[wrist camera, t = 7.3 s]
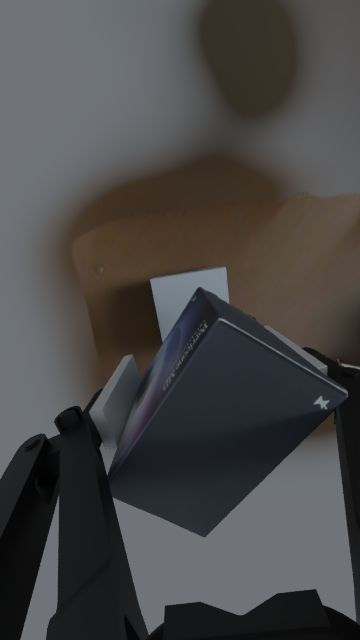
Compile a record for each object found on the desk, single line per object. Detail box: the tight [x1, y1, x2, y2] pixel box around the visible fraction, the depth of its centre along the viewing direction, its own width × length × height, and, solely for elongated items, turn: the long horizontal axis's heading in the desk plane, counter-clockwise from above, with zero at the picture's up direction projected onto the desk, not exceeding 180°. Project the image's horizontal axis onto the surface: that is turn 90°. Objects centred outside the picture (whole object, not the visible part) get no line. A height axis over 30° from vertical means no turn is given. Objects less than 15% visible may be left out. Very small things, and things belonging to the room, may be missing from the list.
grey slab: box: [150, 267, 229, 342], centre depth 28 cm, size 10×13×5 cm
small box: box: [107, 287, 348, 537], centre depth 13 cm, size 11×6×10 cm, turn 150°
